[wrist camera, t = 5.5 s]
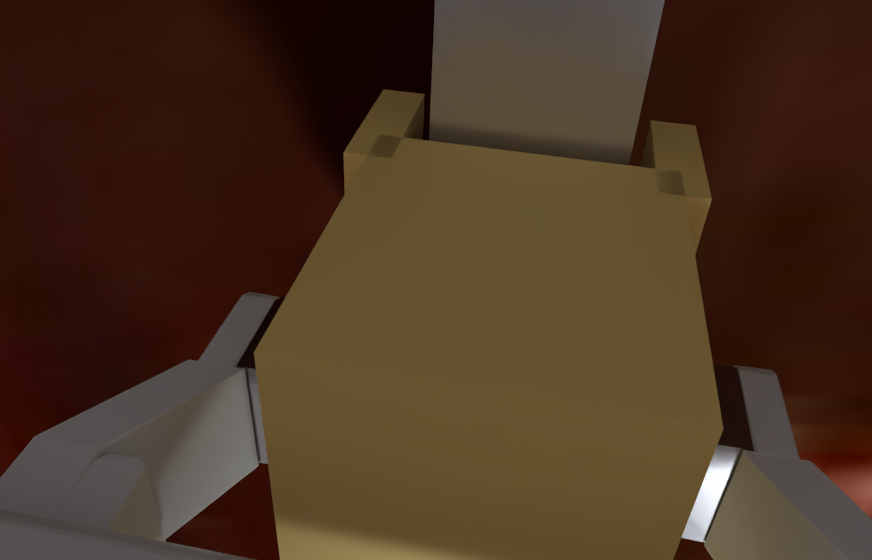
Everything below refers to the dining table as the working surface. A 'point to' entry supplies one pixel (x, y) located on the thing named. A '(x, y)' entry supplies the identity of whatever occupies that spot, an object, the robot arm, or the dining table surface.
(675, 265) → the rail carriage
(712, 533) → the robot arm
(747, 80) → the dining table surface
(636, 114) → the slide rail
